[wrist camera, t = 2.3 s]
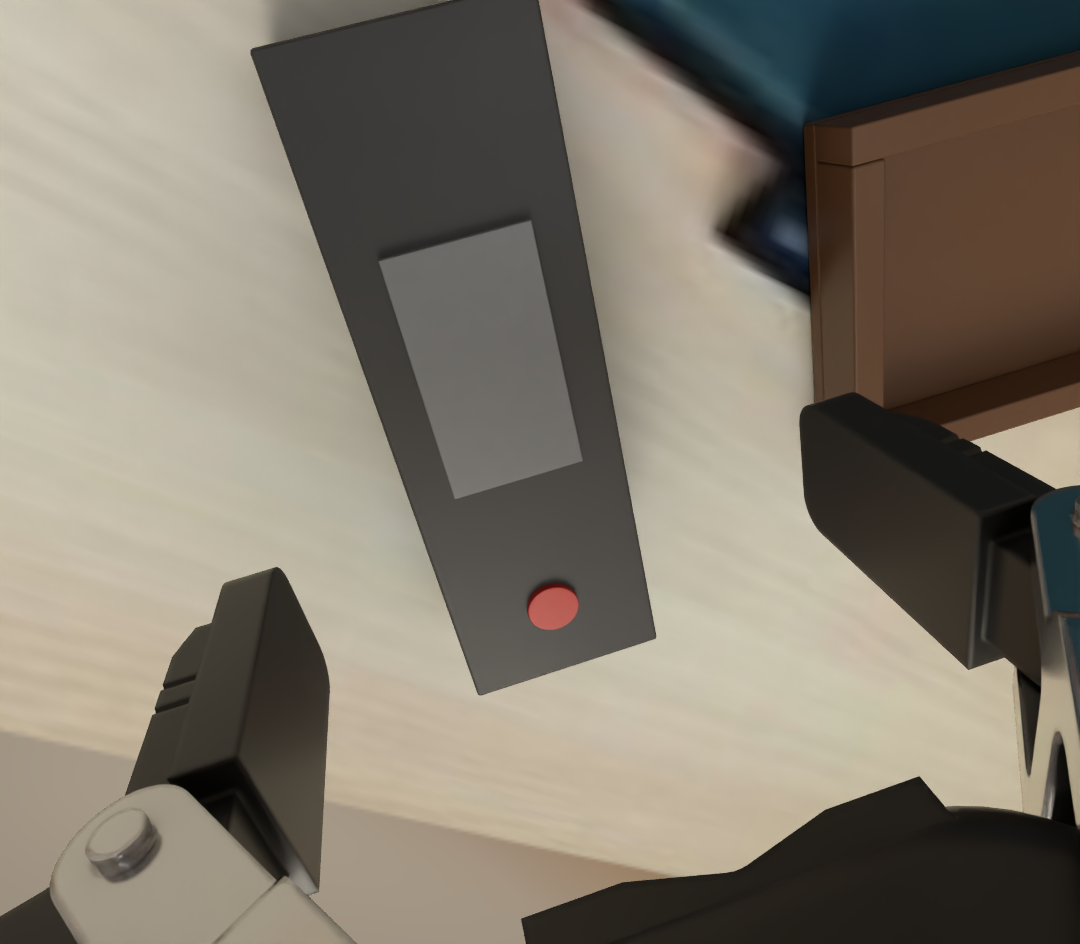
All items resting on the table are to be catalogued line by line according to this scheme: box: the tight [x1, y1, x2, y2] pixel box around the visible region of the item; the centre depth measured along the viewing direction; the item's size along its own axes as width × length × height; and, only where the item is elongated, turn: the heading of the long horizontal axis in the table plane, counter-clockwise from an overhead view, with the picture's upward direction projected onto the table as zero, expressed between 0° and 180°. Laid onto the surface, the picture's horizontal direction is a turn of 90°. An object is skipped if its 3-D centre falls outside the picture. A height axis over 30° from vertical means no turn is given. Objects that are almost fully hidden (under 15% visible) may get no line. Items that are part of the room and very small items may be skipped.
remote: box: [251, 0, 656, 695], centre depth 17 cm, size 14×5×4 cm, turn 12°
